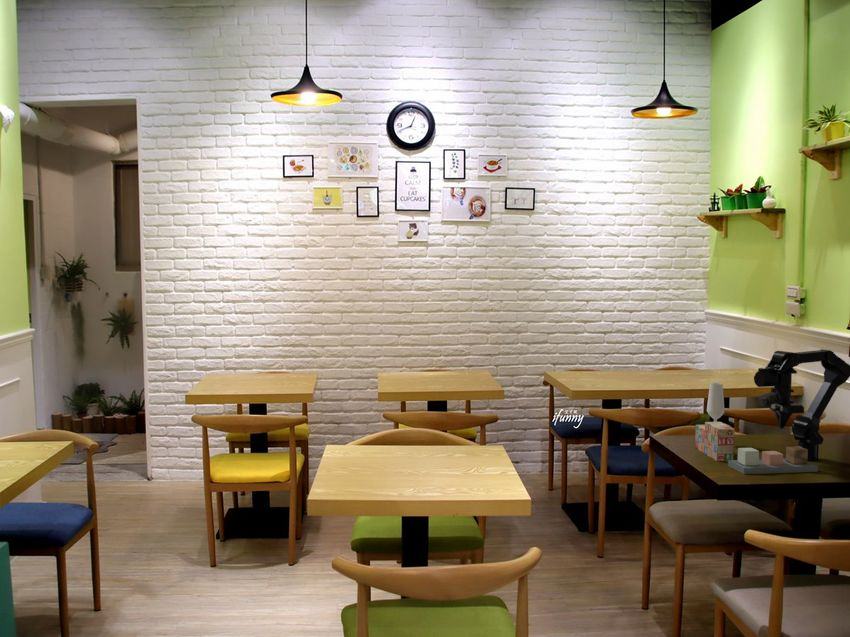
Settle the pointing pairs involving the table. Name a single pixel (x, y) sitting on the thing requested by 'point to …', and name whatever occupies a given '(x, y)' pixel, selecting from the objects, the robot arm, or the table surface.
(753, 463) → the pale green cube
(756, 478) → the table surface
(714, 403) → the champagne flute
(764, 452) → the salmon pink cube
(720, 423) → the stack of blocks
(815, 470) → the key board
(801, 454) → the walnut key
